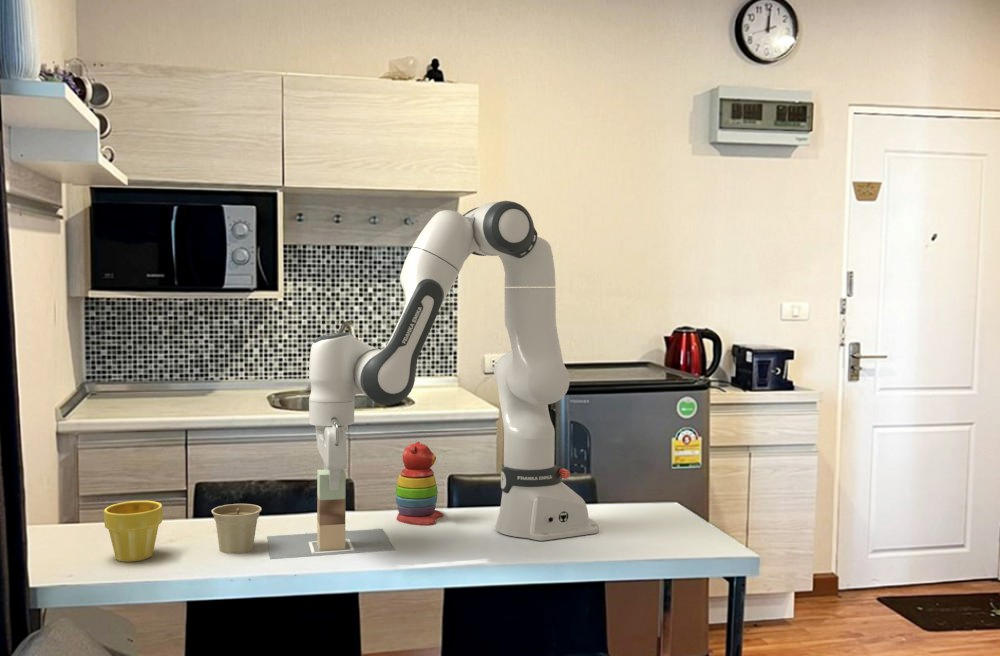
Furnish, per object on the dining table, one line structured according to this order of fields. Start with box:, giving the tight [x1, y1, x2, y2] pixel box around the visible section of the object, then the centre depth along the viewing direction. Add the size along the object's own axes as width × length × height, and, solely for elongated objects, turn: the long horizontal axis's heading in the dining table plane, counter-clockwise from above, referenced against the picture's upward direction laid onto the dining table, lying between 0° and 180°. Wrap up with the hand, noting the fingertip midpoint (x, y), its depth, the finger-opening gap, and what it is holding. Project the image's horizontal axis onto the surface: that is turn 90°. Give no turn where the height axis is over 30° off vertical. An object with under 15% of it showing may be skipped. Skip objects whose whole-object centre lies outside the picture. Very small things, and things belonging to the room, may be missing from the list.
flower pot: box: [211, 503, 263, 555], centre depth 174 cm, size 9×9×9 cm
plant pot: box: [103, 500, 163, 563], centre depth 170 cm, size 10×10×10 cm
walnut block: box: [316, 495, 346, 526], centre depth 176 cm, size 5×5×5 cm
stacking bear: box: [395, 441, 444, 527], centre depth 198 cm, size 11×10×18 cm
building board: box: [266, 519, 396, 560], centre depth 179 cm, size 24×16×6 cm, turn 107°
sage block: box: [316, 468, 346, 500], centre depth 176 cm, size 5×5×5 cm
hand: (331, 484), depth 176 cm, fingers open, 8 cm apart
